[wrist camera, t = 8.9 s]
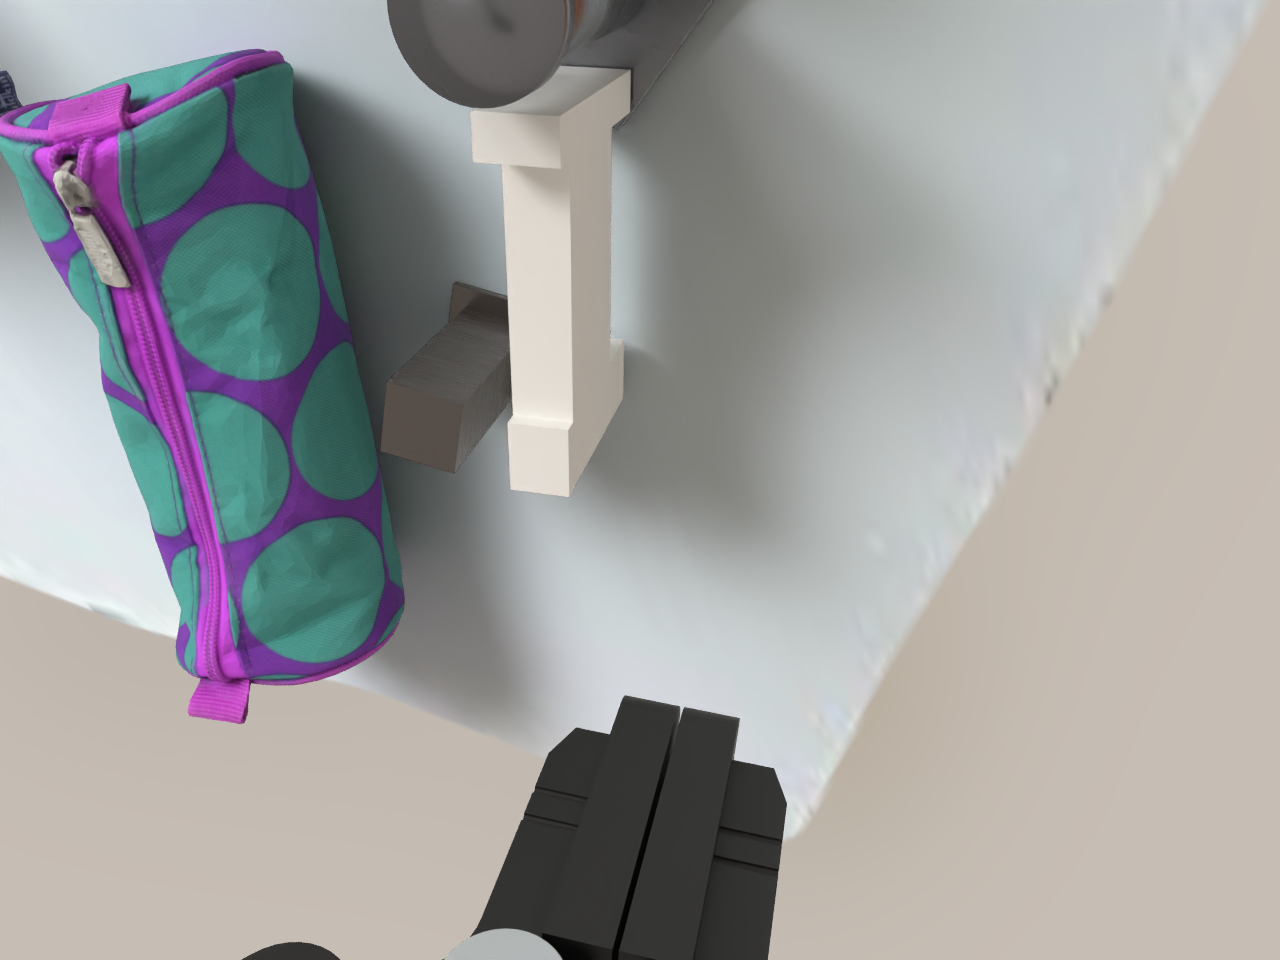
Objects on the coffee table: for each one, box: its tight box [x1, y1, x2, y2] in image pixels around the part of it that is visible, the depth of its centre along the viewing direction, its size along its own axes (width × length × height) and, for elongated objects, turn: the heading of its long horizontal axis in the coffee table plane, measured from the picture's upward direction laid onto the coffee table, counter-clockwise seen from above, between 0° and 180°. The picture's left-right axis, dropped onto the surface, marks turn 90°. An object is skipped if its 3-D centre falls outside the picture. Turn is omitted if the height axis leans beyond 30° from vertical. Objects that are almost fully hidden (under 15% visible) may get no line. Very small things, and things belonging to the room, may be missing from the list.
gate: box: [470, 66, 631, 497], centre depth 30 cm, size 11×2×8 cm, turn 178°
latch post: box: [380, 282, 512, 473], centre depth 34 cm, size 4×4×7 cm
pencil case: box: [0, 49, 404, 724], centre depth 35 cm, size 21×9×10 cm, turn 4°
